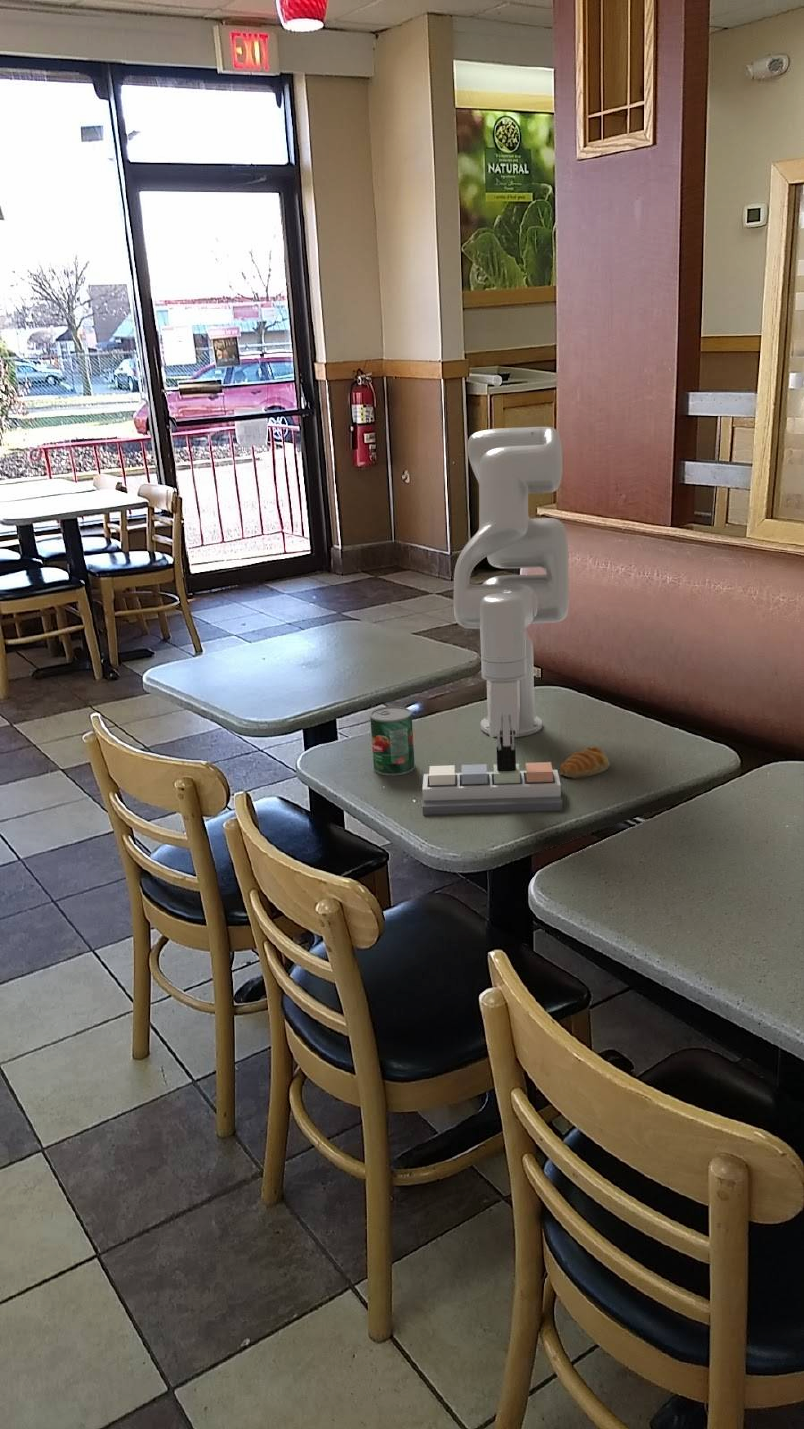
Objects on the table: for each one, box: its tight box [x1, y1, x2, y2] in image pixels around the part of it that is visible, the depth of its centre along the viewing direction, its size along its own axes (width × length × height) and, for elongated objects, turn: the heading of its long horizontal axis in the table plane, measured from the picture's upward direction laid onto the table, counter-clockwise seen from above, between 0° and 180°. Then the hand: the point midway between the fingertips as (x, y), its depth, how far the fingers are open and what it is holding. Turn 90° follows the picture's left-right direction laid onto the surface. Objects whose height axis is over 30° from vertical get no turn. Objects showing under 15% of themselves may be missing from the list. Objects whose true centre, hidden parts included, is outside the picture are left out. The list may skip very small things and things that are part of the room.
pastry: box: [559, 746, 610, 779], centre depth 202 cm, size 9×7×4 cm
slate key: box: [461, 763, 488, 784], centre depth 192 cm, size 4×4×2 cm
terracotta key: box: [525, 761, 554, 782], centre depth 191 cm, size 4×4×2 cm
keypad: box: [421, 769, 563, 816], centre depth 192 cm, size 12×24×4 cm, turn 87°
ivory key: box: [428, 764, 456, 785], centre depth 192 cm, size 4×4×2 cm
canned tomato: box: [369, 706, 416, 776], centre depth 207 cm, size 8×8×11 cm
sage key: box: [493, 763, 521, 784], centre depth 191 cm, size 4×4×2 cm
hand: (506, 769), depth 191 cm, fingers closed
